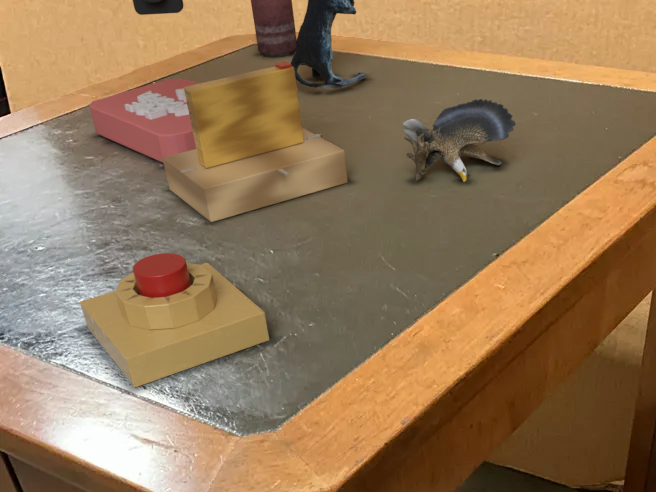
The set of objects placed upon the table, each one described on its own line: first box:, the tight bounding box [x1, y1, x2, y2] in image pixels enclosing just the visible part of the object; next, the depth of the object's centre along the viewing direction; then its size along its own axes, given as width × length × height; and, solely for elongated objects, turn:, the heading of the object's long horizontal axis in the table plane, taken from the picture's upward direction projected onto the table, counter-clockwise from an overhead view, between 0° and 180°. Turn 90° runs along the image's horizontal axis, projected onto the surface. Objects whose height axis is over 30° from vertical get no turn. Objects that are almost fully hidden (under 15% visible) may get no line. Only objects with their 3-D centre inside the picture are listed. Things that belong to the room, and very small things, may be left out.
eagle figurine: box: [402, 98, 517, 183], centre depth 82 cm, size 8×7×9 cm
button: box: [132, 252, 191, 298], centre depth 61 cm, size 4×4×2 cm
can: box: [250, 0, 297, 58], centre depth 116 cm, size 5×5×12 cm
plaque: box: [88, 78, 200, 163], centre depth 96 cm, size 18×4×15 cm
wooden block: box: [184, 60, 304, 168], centre depth 81 cm, size 10×2×7 cm, turn 123°
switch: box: [79, 261, 270, 388], centre depth 63 cm, size 10×10×4 cm
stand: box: [162, 127, 349, 223], centre depth 84 cm, size 14×14×3 cm
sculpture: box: [290, 0, 367, 90], centre depth 103 cm, size 8×11×15 cm
